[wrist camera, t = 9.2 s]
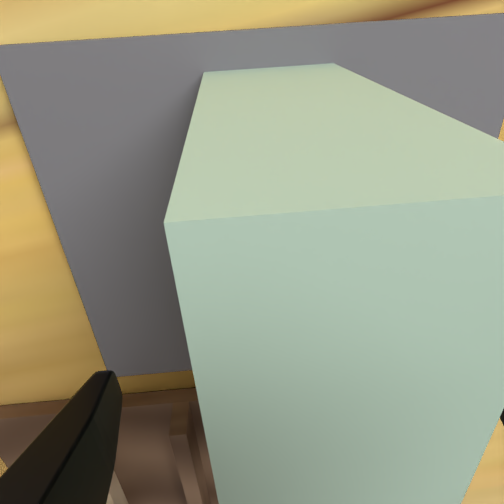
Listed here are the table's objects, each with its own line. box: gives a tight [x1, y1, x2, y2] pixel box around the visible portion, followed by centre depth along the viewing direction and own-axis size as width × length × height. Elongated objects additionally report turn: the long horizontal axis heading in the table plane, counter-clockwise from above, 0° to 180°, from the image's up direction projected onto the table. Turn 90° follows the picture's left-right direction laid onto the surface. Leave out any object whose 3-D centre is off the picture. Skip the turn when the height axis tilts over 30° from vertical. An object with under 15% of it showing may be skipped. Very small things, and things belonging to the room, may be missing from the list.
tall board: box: [164, 63, 504, 504], centre depth 11 cm, size 12×4×10 cm, turn 3°
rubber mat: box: [0, 13, 504, 377], centre depth 15 cm, size 14×16×1 cm
